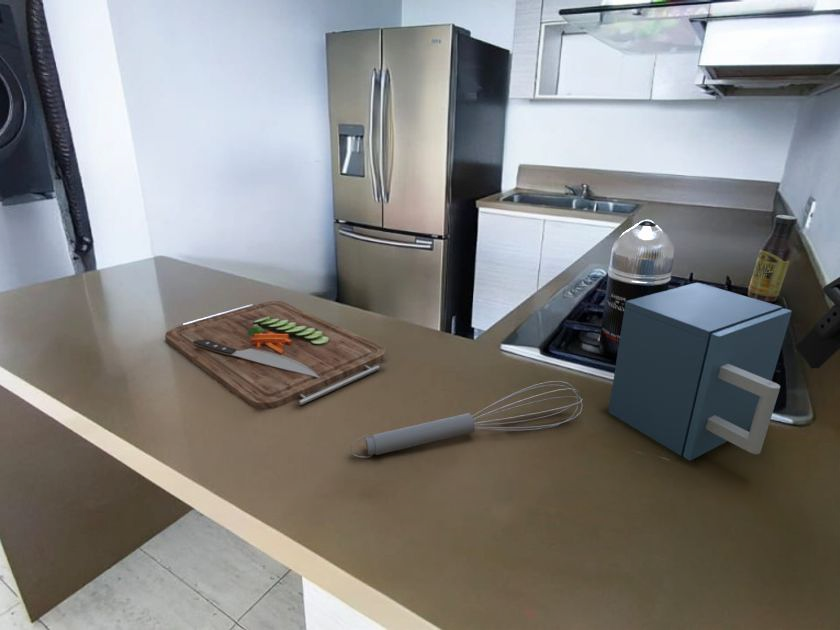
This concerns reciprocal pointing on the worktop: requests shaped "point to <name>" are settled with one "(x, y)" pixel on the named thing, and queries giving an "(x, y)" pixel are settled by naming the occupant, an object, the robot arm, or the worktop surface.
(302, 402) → the chopping board
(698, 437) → the cupboard door
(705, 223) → the worktop surface
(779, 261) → the sauce bottle
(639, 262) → the black domed canister
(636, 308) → the cupboard
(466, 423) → the kitchen whisk
